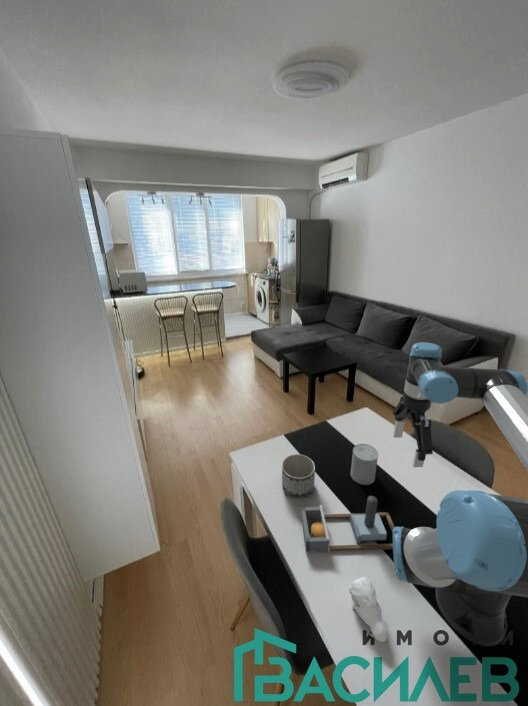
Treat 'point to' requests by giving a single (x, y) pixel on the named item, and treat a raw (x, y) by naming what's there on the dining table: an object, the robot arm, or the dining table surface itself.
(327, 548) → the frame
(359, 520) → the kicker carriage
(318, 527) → the orange rounded piece
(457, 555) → the robot arm
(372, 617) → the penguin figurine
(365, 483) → the grey cylinder
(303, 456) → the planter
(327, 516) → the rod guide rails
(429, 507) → the dining table surface
